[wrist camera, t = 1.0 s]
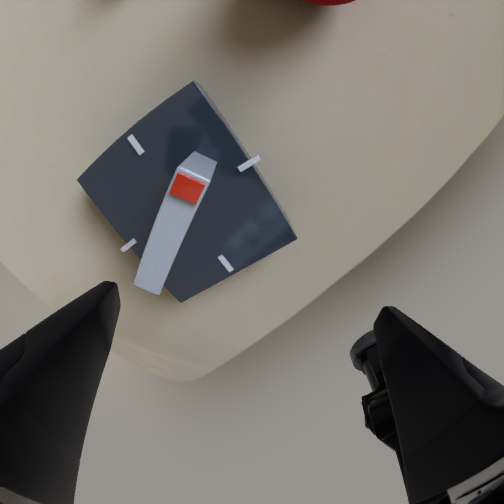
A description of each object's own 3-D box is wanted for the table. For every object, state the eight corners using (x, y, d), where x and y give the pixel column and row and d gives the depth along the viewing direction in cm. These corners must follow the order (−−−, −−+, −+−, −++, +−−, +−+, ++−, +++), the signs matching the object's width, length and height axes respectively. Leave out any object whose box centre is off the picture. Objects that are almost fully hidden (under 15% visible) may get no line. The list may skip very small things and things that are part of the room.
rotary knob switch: (296, 217, 20) (306, 235, 18) (180, 283, 23) (174, 307, 20) (208, 80, 15) (202, 73, 12) (91, 174, 18) (70, 185, 15)
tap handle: (173, 255, 18) (157, 299, 14) (152, 246, 18) (131, 288, 13) (217, 162, 15) (210, 182, 11) (193, 150, 15) (176, 166, 11)
